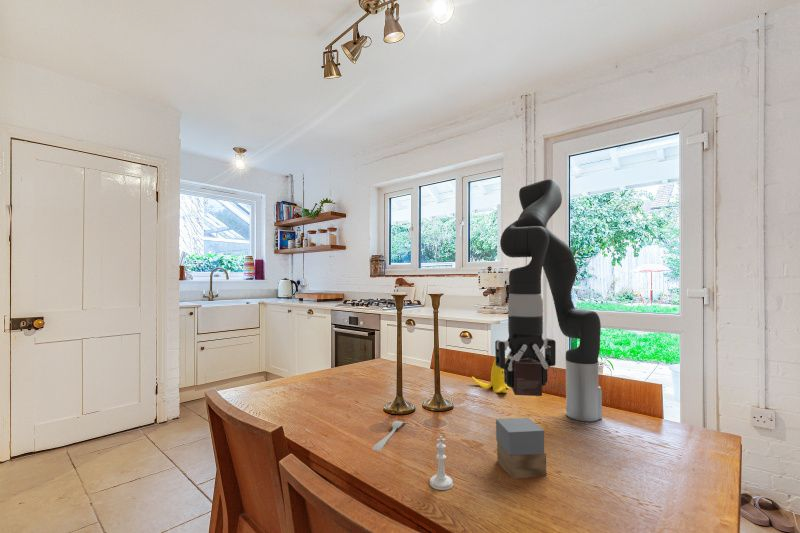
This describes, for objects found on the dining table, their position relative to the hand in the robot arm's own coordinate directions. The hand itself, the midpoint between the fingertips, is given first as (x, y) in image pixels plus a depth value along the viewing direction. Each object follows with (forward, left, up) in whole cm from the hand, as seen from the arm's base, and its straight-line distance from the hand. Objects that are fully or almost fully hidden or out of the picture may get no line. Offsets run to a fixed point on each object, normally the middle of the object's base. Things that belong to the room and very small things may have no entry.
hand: (525, 385), depth 89 cm
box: (0, 0, -2) cm, 2 cm away
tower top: (+1, -1, -14) cm, 14 cm away
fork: (+27, -25, -20) cm, 42 cm away
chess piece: (+21, +2, -19) cm, 28 cm away
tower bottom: (+1, -1, -19) cm, 19 cm away
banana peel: (-18, -63, -19) cm, 68 cm away
